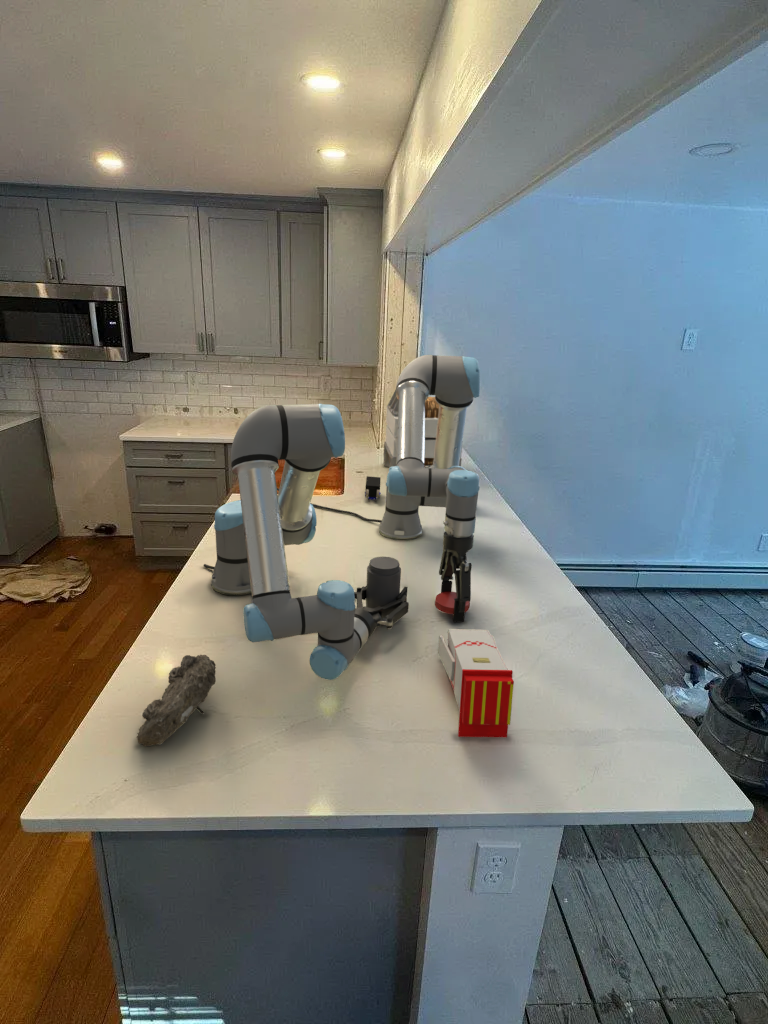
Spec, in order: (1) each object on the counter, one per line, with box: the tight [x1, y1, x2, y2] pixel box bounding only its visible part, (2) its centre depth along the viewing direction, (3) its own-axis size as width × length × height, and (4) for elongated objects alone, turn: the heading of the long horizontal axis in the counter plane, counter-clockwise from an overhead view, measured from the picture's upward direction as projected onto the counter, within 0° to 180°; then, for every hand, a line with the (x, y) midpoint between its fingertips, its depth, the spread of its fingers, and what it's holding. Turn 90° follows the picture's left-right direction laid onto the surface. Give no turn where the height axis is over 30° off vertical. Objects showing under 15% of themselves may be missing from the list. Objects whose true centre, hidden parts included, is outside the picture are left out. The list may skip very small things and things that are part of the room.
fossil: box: [136, 654, 217, 747], centre depth 108 cm, size 22×10×15 cm
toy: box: [437, 628, 515, 738], centre depth 117 cm, size 12×13×30 cm
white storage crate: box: [383, 389, 464, 468], centre depth 268 cm, size 34×33×41 cm
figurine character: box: [364, 475, 381, 503], centre depth 235 cm, size 7×8×15 cm
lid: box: [434, 591, 471, 615], centre depth 148 cm, size 9×9×2 cm
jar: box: [365, 556, 402, 626], centre depth 143 cm, size 8×8×15 cm
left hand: (389, 587), depth 148 cm, fingers closed on jar, 8 cm apart
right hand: (451, 611), depth 149 cm, fingers closed on lid, 9 cm apart
